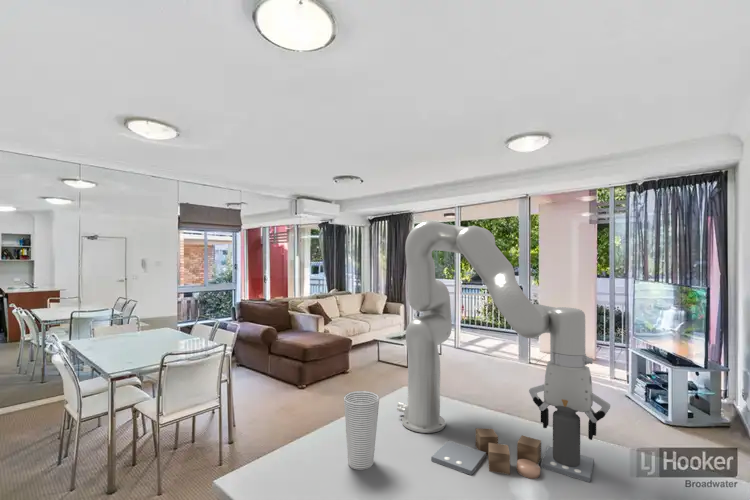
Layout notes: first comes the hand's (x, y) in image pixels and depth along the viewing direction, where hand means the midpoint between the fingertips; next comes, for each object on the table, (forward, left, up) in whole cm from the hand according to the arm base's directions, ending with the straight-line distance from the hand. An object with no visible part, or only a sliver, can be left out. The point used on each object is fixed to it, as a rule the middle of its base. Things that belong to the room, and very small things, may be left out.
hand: (567, 431), depth 88 cm
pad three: (0, 0, -8) cm, 8 cm away
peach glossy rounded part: (-7, -9, -8) cm, 14 cm away
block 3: (-8, -3, -8) cm, 12 cm away
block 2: (-13, -11, -8) cm, 19 cm away
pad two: (-22, -13, -8) cm, 27 cm away
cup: (-40, -29, -8) cm, 50 cm away
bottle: (0, 0, -7) cm, 7 cm away
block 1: (-18, -5, -8) cm, 20 cm away
